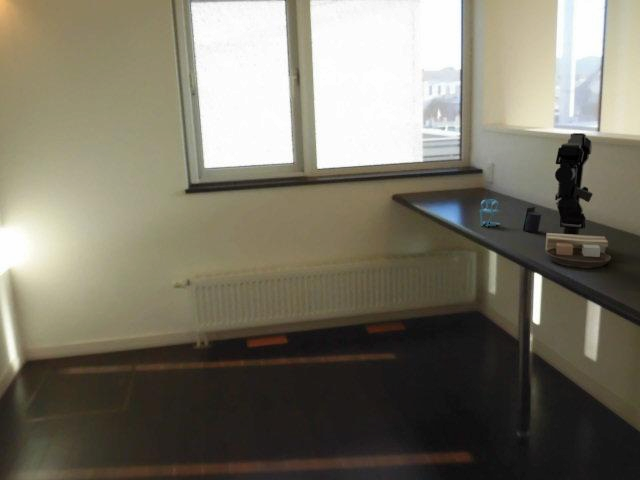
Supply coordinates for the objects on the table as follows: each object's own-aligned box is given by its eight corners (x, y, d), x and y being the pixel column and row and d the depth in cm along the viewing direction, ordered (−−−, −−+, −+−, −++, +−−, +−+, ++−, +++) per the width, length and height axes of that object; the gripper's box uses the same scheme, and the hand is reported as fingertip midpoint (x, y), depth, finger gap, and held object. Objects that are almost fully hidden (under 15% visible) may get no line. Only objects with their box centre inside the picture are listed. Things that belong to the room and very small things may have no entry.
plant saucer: (592, 255, 218) (593, 246, 218) (621, 270, 198) (622, 260, 197) (536, 255, 218) (537, 247, 217) (560, 270, 198) (561, 261, 197)
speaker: (518, 229, 262) (523, 206, 259) (530, 229, 264) (534, 206, 261) (529, 234, 256) (533, 210, 252) (540, 234, 257) (545, 210, 254)
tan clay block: (557, 245, 206) (556, 254, 206) (573, 246, 204) (572, 255, 205) (556, 242, 210) (555, 251, 211) (571, 243, 209) (571, 252, 209)
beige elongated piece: (545, 248, 228) (546, 232, 226) (602, 251, 221) (604, 236, 220) (546, 254, 217) (547, 238, 216) (606, 258, 211) (608, 242, 210)
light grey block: (584, 247, 203) (583, 256, 204) (600, 248, 202) (599, 257, 202) (582, 244, 208) (582, 252, 208) (598, 245, 206) (597, 253, 207)
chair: (476, 225, 272) (477, 199, 270) (484, 223, 278) (486, 197, 275) (491, 227, 267) (493, 201, 264) (500, 225, 273) (501, 199, 270)
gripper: (595, 184, 201) (590, 229, 204) (589, 178, 218) (585, 219, 221) (560, 183, 204) (556, 227, 207) (556, 177, 221) (553, 218, 225)
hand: (563, 223), depth 215 cm, fingers closed
